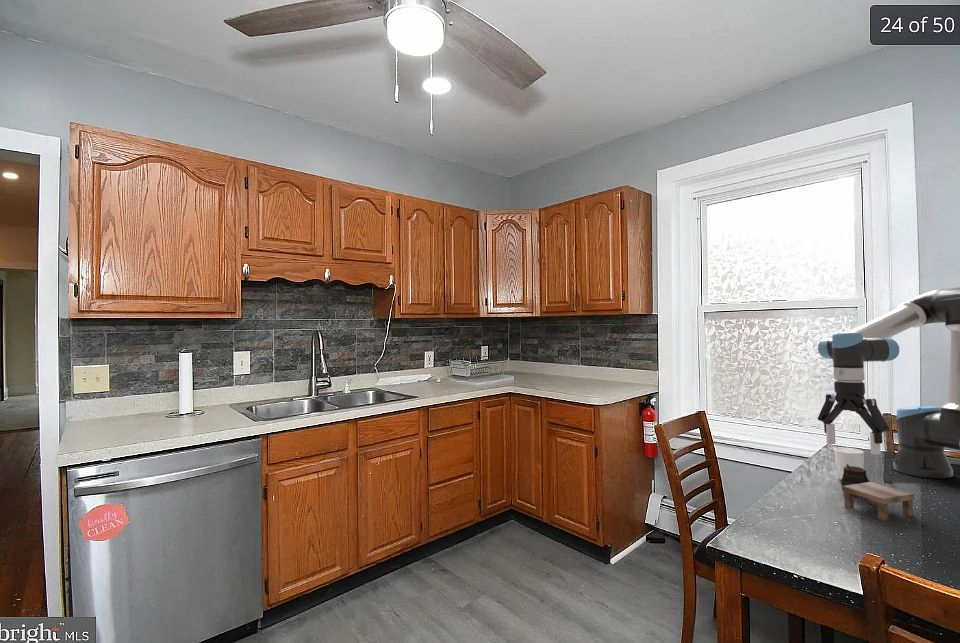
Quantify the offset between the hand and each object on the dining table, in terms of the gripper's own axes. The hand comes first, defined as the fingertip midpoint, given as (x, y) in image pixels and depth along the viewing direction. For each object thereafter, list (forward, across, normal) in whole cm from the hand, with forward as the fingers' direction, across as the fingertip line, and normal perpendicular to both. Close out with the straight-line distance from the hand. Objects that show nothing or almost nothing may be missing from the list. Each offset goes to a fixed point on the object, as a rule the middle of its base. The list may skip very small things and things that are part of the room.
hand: (852, 448), depth 143 cm
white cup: (+14, -11, +12) cm, 22 cm away
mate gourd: (+14, 0, 0) cm, 14 cm away
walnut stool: (+14, +12, -8) cm, 20 cm away
